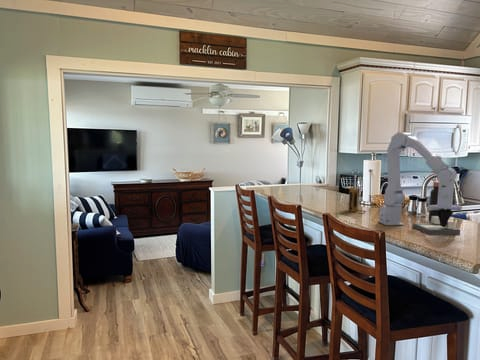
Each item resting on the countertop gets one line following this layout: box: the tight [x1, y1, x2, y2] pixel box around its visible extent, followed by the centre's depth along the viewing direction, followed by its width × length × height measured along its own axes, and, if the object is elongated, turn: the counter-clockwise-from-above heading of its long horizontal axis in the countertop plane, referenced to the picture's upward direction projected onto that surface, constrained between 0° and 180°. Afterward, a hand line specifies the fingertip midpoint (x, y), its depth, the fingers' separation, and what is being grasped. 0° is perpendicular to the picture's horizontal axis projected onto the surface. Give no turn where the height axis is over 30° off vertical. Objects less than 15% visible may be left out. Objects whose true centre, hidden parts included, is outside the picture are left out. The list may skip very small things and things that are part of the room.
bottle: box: [428, 181, 443, 222], centre depth 186 cm, size 7×7×20 cm
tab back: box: [430, 216, 440, 224], centre depth 170 cm, size 3×3×3 cm
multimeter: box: [347, 176, 369, 215], centre depth 208 cm, size 15×10×20 cm
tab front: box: [445, 219, 456, 229], centre depth 161 cm, size 3×3×3 cm
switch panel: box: [412, 222, 461, 235], centre depth 166 cm, size 14×13×2 cm
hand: (443, 226), depth 161 cm, fingers closed
